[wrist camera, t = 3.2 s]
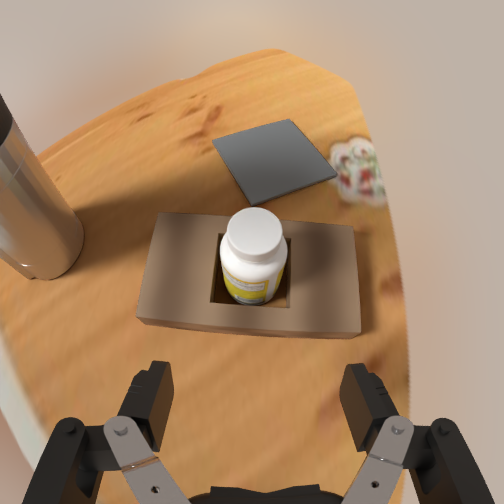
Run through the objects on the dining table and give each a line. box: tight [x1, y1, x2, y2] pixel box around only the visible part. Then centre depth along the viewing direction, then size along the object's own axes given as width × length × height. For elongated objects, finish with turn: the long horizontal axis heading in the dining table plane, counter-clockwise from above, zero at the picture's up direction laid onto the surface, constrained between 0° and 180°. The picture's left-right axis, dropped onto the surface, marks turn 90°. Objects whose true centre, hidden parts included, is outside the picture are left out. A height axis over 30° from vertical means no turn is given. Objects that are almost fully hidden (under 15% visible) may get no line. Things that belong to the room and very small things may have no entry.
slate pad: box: [212, 119, 337, 207], centre depth 38 cm, size 12×12×1 cm
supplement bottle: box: [220, 207, 287, 306], centre depth 26 cm, size 5×5×10 cm
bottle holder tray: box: [136, 212, 361, 339], centre depth 29 cm, size 20×11×3 cm, turn 86°
